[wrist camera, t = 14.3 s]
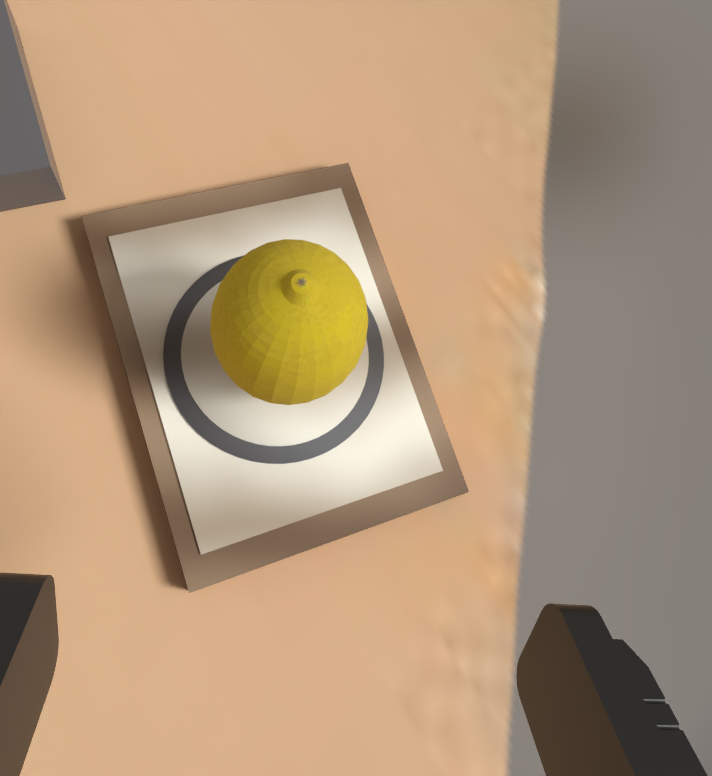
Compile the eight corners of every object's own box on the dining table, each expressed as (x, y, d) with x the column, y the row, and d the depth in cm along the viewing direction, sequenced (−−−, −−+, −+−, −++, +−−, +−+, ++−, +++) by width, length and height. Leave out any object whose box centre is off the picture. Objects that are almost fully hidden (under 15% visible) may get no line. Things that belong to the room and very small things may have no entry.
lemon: (318, 280, 28) (354, 180, 20) (363, 398, 27) (418, 341, 19) (193, 315, 26) (182, 221, 19) (237, 440, 26) (243, 397, 18)
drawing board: (86, 227, 28) (79, 212, 26) (344, 174, 31) (349, 159, 30) (190, 591, 25) (188, 593, 24) (460, 493, 28) (471, 491, 27)
